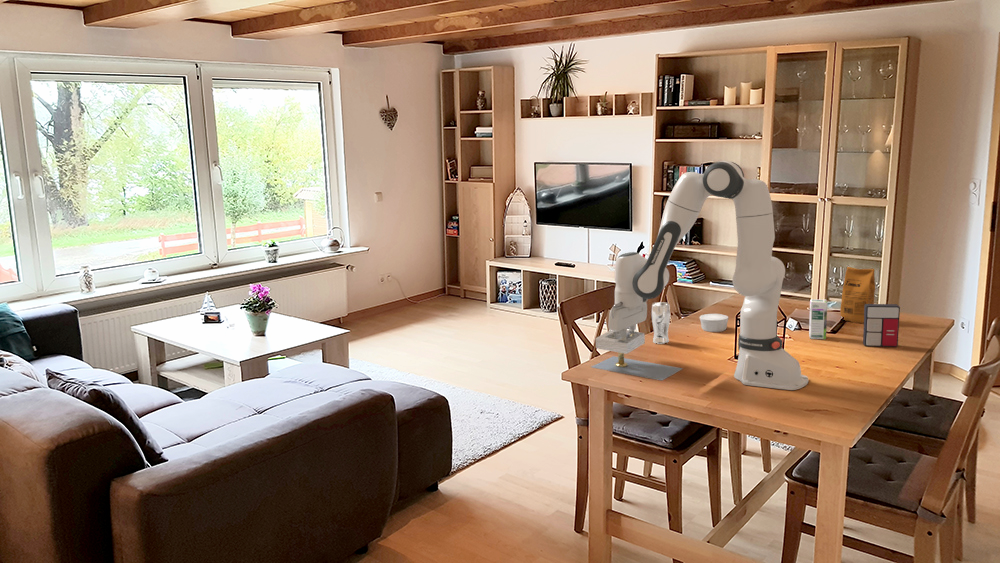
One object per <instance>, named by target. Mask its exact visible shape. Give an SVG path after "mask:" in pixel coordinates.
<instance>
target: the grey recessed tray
mask: <svg viewBox="0 0 1000 563" xmlns="http://www.w3.org/2000/svg"><path fill="white" fill-rule="evenodd" d="M626 333H627V335H628V339H626V340H624V341H623V340H619V339H622V335H621V333H620V331H619V332H613V331H610V330H608V331H606V332H604V333H603V334H600V335H599V336H597V337H595V348H596V349H597V350H603V351H608V352H613V353H614V352H615V353H618V352H619V353H624V355H627V354H629V353H631V352H632V351H634V350H636V349H638V348H639V347H641V346H642V345H644V344H645V342H646V341H645V340H646V338H645V333H644V332H639V331H629V329H627V331H626Z"/></svg>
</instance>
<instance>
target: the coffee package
mask: <svg viewBox="0 0 1000 563" xmlns="http://www.w3.org/2000/svg"><path fill="white" fill-rule="evenodd" d="M875 281H876V280H875V268H861V269H860V268H855V267H853V266H852V267H851V266H847V267H846V271H845V275H844V281H843V286H842V293H841V303H840V307H839V308H840V311H839V312H840V316H842V317H844V320H845V321H844V322H851V323H855V324H864V306H865V304H875V296H876V295H875V294H876V293H875V291H876V283H875Z"/></svg>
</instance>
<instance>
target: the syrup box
mask: <svg viewBox="0 0 1000 563" xmlns="http://www.w3.org/2000/svg"><path fill="white" fill-rule="evenodd" d="M827 321H828V300H827V299H817V298H816V299H814V298H813V299H812V298H811V299H810V300H809V324H808V325H809V328H808V329H809V330H808V332H809V333H808V335H809V339H810V340H826V339H827V324H828V322H827Z"/></svg>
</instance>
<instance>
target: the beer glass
mask: <svg viewBox="0 0 1000 563" xmlns="http://www.w3.org/2000/svg"><path fill="white" fill-rule="evenodd" d="M670 320H671V306H670V303H669V302H666V301H665V302H663V301H659V302H652V303H651V324H652V327H653V336H652V337H653V338H652V342H653V343H654V344H656V343H657V344H656V345H666V344H665V343H667V344H669V343H670V339H669V326H670ZM668 342H669V343H668Z"/></svg>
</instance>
